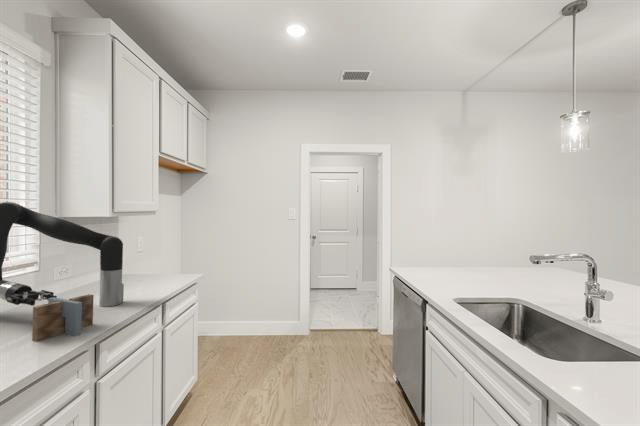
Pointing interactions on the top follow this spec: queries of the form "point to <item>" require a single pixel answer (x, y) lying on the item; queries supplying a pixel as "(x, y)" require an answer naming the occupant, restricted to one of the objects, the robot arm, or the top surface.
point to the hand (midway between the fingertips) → (45, 300)
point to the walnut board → (58, 317)
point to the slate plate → (70, 315)
